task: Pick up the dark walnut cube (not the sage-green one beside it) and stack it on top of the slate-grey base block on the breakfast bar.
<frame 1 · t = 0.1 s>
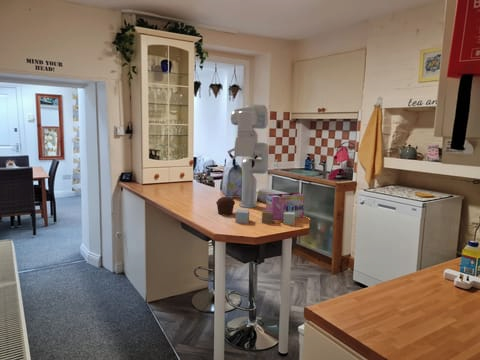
hand: (243, 167, 193), 31 cm above the worktop, fingers open, 9 cm apart
gum box: (284, 217, 216), on the worktop
muffin: (225, 213, 220), on the worktop
sage block: (288, 223, 202), on the worktop
walnut block: (267, 222, 203), on the worktop
lunch bag: (234, 195, 276), on the worktop
base block: (242, 221, 203), on the worktop
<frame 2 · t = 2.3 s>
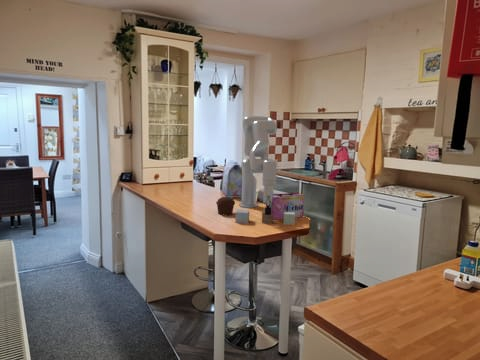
hand: (268, 212, 202), 5 cm above the worktop, fingers open, 9 cm apart
nothing on the worktop moved.
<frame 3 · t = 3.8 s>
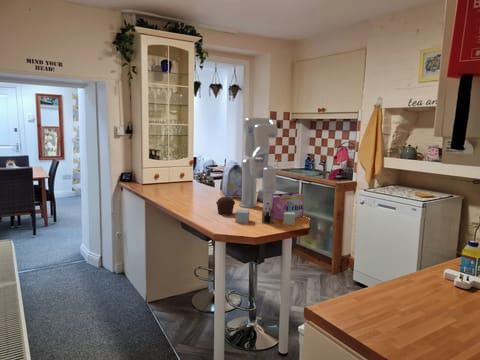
hand: (267, 220, 203), 1 cm above the worktop, fingers closed on walnut block, 6 cm apart
walnut block: (267, 221, 203), on the worktop, touching gripper
everything else where it was.
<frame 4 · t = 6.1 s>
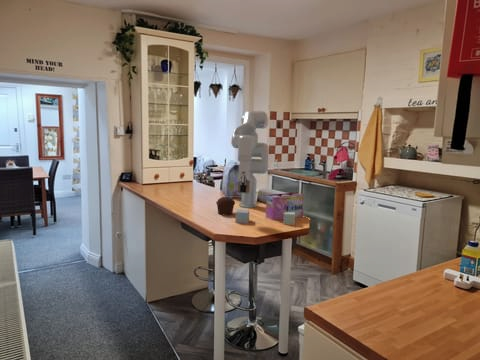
hand: (243, 190, 200), 17 cm above the worktop, fingers closed on walnut block, 6 cm apart
walnut block: (243, 191, 200), point 17 cm above the worktop, touching gripper
everything else where it was.
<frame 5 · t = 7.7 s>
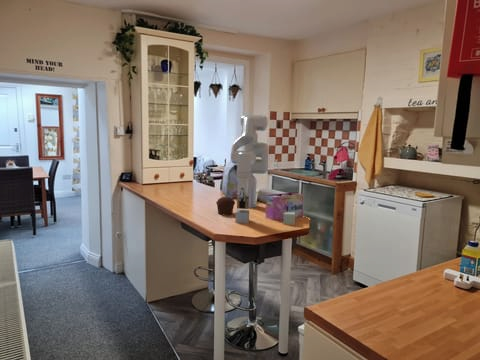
hand: (242, 206, 201), 9 cm above the worktop, fingers closed on walnut block, 6 cm apart
walnut block: (242, 207, 202), point 8 cm above the worktop, touching gripper
everything else where it was.
when the fingers open (8 cm above the worktop, at t = 8.7 s): walnut block drops 1 cm, resting on base block.
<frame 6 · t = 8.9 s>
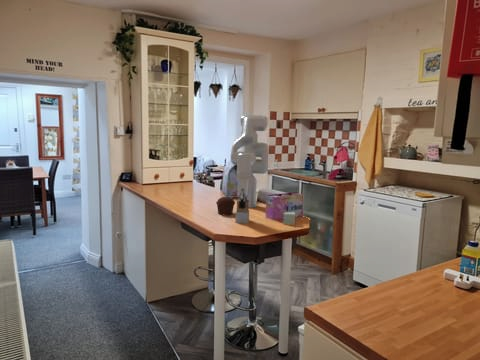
hand: (242, 206, 201), 8 cm above the worktop, fingers open, 8 cm apart
walnut block: (242, 211, 202), point 6 cm above the worktop, touching base block
base block: (242, 221, 203), on the worktop, touching walnut block
everything else where it was.
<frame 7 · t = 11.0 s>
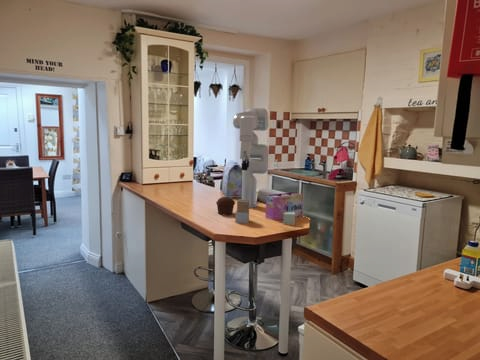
hand: (245, 168, 206), 29 cm above the worktop, fingers open, 9 cm apart
walnut block: (242, 211, 202), point 6 cm above the worktop
base block: (242, 221, 203), on the worktop
everything else where it was.
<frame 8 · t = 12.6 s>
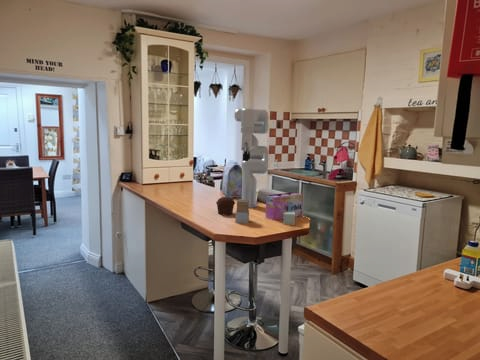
hand: (246, 160, 210), 33 cm above the worktop, fingers open, 9 cm apart
walnut block: (242, 211, 202), point 6 cm above the worktop, touching base block
base block: (242, 221, 203), on the worktop, touching walnut block
at the end: walnut block 0.2 cm off-centre on the base block, point 6.0 cm above the base block's base; walnut block tilted 0°; the gripper is holding nothing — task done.
